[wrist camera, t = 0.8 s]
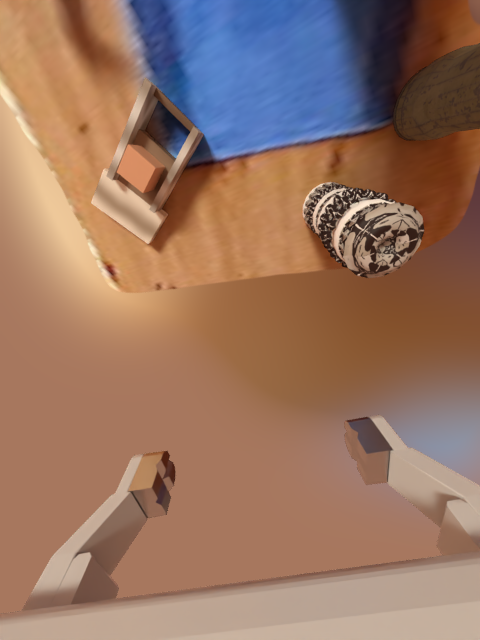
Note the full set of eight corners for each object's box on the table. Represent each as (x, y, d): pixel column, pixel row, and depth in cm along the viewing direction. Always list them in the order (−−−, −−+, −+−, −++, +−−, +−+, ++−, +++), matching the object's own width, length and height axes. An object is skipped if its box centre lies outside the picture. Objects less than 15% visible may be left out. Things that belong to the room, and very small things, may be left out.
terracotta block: (141, 145, 37) (128, 144, 33) (165, 167, 38) (155, 167, 34) (130, 170, 39) (116, 172, 35) (153, 190, 40) (142, 193, 36)
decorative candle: (305, 238, 47) (347, 298, 27) (295, 191, 42) (339, 220, 22) (350, 223, 45) (433, 274, 25) (346, 171, 40) (446, 183, 20)
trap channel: (147, 77, 34) (134, 67, 30) (211, 141, 38) (207, 139, 34) (98, 200, 44) (84, 204, 40) (152, 240, 48) (144, 247, 45)
